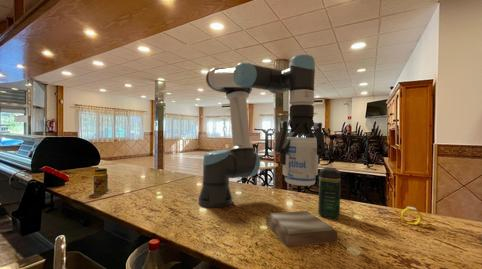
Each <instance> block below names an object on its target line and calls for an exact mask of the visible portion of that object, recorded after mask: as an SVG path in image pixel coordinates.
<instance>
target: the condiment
mask: <svg viewBox="0 0 482 269" xmlns="http://www.w3.org/2000/svg"><path fill="white" fill-rule="evenodd" d="M108 174H109V173H108V168H106V167H104V168H103V167H101V168H95V169H94V174H93V190H91V193H92V195H93V196H94V195H99V194H100V195H101V194H108V193H109V194H110V193H111V191H110V189H109V188H108V187H109V185H108V184H109V183H108V182H109V180H108V178H109V175H108Z"/></svg>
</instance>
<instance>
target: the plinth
mask: <svg viewBox="0 0 482 269" xmlns="http://www.w3.org/2000/svg"><path fill="white" fill-rule="evenodd" d="M265 225H267V226H268V228H269V229H270V230H271V231H272V232H273V233H274V235H276V236H277V238H278V239H279V240H280V241H281V242H282V243H283V244H284V245H285V247H287V248H291V247H292V248H293V247H301V246H309V245H310V246H311V245H318V244H319V245H320V244H326V243H336V242H338V231H337V230H336V229H334V228H333V226H331V225H330V224H329V223H327V222H325V221H324V220H322V219H321V218H319V217H317V216H316V215H314V214H312V213H311V212H309V211H308V210H302V211H301V210H300V211H288V212H287V211H286V212H273V213H272V212H271V213H269V215H266V222H265Z"/></svg>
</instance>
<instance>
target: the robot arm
mask: <svg viewBox="0 0 482 269" xmlns="http://www.w3.org/2000/svg"><path fill="white" fill-rule="evenodd" d="M315 65H316V63H315V57H314V56H312V55H310V54H297V55H295V56H293V57H292V58H291V60H290V64H289V67H287V68H284V69H278V68H277V69H276V68H273V67H267V66H261V65H256V64H252V63H250V62H249V63H248V62H239V63H237V65H236V66H235V67H230V68H223V67H213V68H211V69H210V70H208V71H207V73H206V75H205V82H206V85H207V86H208V87H209V88H210V89H211V90H213V91H215V92H218V93H224V94H225V95H226V99H227V100H229V109H230V110H229V111H230V125H231V137H232V147H231V148H230V149H221V150H220V149H218V150H212V151H208V152H205V153H204V155H203V162H202V165H203V166H202V172H203V173H202V186H201V189H200V193H199V196H198V205H199V206H201V207H204V208H210V209H212V208H214V209H215V208H216V209H217V208H218V209H219V208H225V207H229V206H230V205H232V204H233V195H232V192H231V188H230V184H229V183H230V179H239V178H250V177H254V176H255V175H256V174H258V172H259V170H260V167H261V159H260V156H259V154H258V153H257V152H255V148H254V147H253V146H252V145H251V137H250V127H249V126H250V125H249V116H248V114H249V113H248V104H247V99H248V98H249V96H250V94H251V93H252V90H253V89H257V90H263V91H265V90H266V91H269V92H270V93H271V94H274V95H275V94H283V93H286V92H289V105H290V106H289V120H288V121H286V120H283V121H280V123H279V128H280V129H279V132H278V137H277V139H276V140H277V141H276V144H275V147H274V152H276V153H278V154H279V155H280V161H279V163H280V165H282V176H284V177H285V176H288V175H289V155H287V152H288V150H289V148H290V139H287V138H286V135H287V132H288V128H290V130H289V132H288V136H287V137H298V135H303V136H305V138H317V156H316V176H318V175H319V165H320V163H321V155H323V153H326V152H327V150H326V145H325V140H324V135H323V131H322V128H323V123H322V122H314V119H313V118H314V114H315V111H314V110H315V107H314V104H315V103H314V102H315V78H316V76H315V74H316V67H315ZM312 129H313V130H312ZM313 131H314V132H313ZM285 138H286V139H285Z"/></svg>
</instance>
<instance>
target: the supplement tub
mask: <svg viewBox="0 0 482 269" xmlns="http://www.w3.org/2000/svg"><path fill="white" fill-rule="evenodd" d="M286 139H290V148H289V150H288V152H287V155H289V175H288V176H285V175H284V181H285V182H286V183H287V184H290V185H294V186H303V187H306V186H307V187H308V186H313V185H315V183H316V179H317V178H316V176H317V175H316V156H317V138H316V137H314V138H307V137H303V136H302V137H301V136H299V137H298V136H296V137H288V136H287V137H286Z"/></svg>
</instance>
